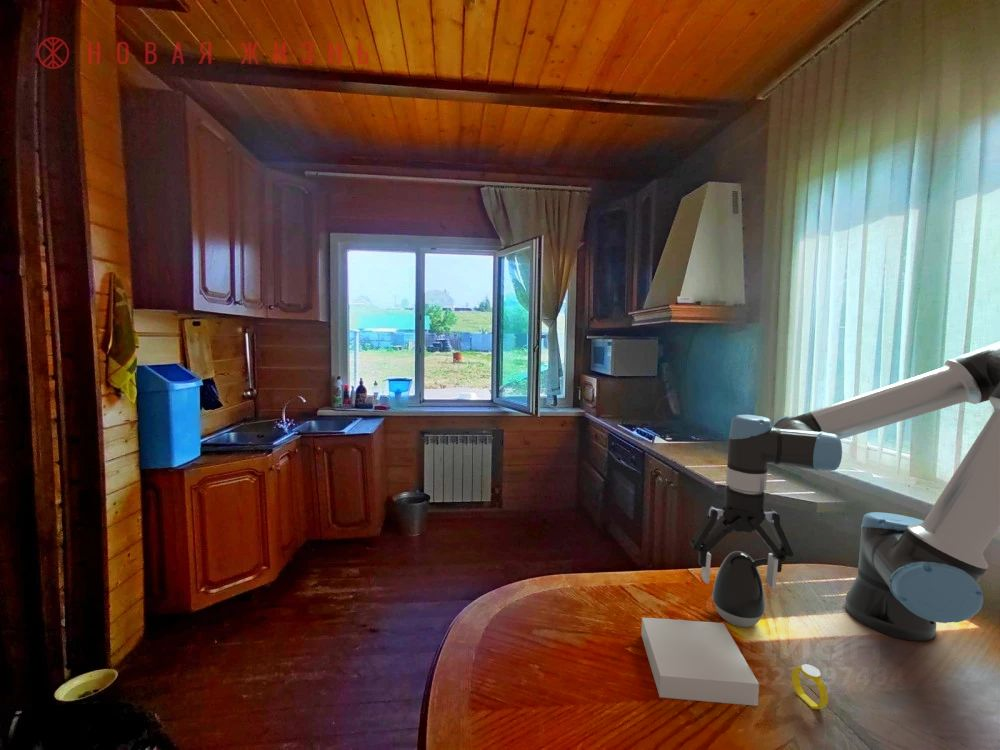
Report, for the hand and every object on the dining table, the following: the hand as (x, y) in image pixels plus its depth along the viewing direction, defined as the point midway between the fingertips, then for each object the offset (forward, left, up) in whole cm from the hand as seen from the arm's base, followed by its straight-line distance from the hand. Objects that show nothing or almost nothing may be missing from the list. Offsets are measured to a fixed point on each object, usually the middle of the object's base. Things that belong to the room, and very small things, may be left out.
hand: (737, 582), depth 99 cm
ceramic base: (+14, +16, -8) cm, 23 cm away
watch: (-3, +22, -9) cm, 24 cm away
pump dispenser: (0, 0, -9) cm, 9 cm away
